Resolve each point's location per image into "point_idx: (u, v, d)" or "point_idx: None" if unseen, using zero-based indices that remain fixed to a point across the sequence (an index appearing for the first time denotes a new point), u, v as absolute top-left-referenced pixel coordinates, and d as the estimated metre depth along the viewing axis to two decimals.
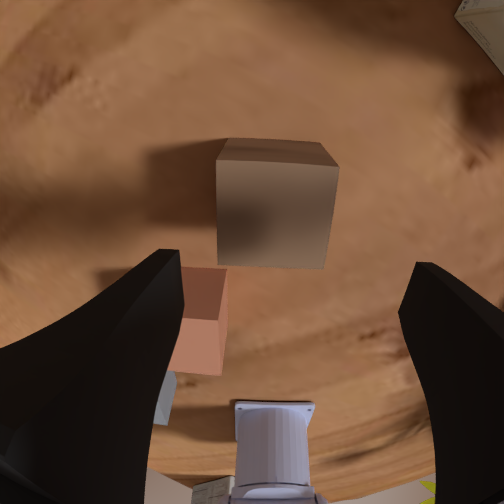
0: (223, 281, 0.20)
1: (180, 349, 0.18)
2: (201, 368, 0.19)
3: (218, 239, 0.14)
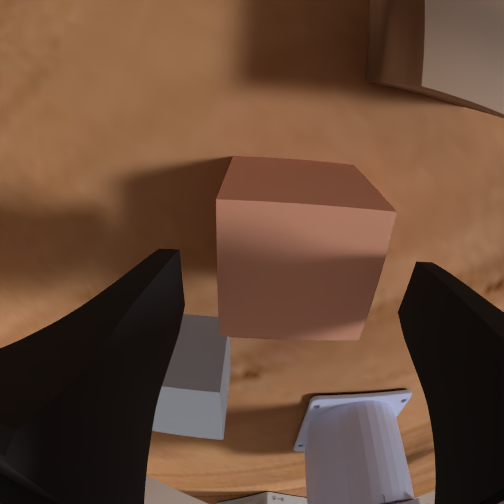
0: (360, 173, 0.11)
1: (303, 288, 0.10)
2: (329, 327, 0.10)
3: (426, 39, 0.06)
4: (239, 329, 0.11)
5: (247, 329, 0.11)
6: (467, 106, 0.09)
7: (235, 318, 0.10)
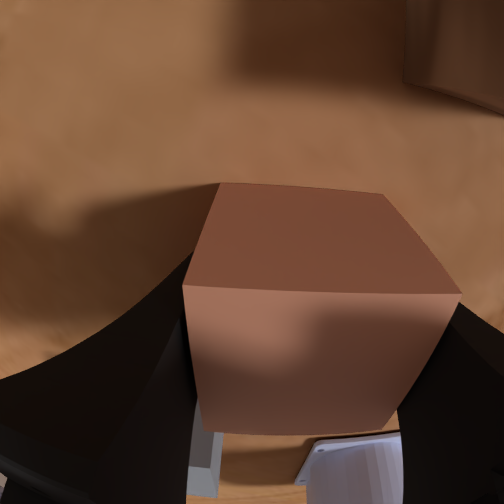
0: (396, 212, 0.08)
1: (318, 390, 0.06)
2: (347, 423, 0.07)
3: None
4: (229, 426, 0.07)
5: (240, 427, 0.07)
6: None
7: (223, 417, 0.07)
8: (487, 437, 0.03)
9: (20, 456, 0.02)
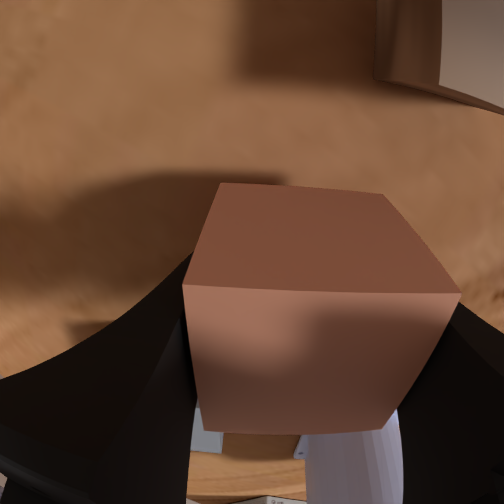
0: (396, 212, 0.08)
1: (318, 390, 0.06)
2: (347, 422, 0.07)
3: (444, 33, 0.05)
4: (229, 426, 0.07)
5: (239, 426, 0.07)
6: (480, 107, 0.08)
7: (223, 417, 0.07)
8: (486, 438, 0.03)
9: (20, 456, 0.02)
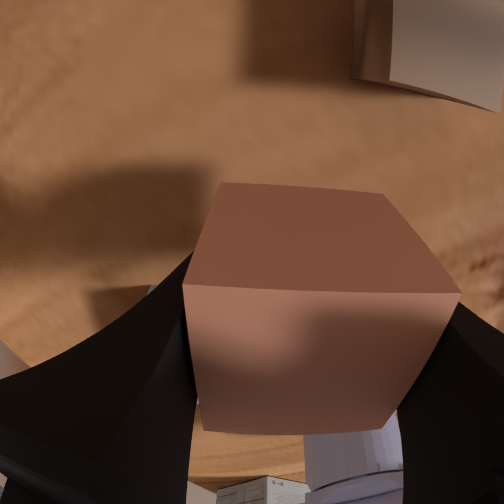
0: (396, 212, 0.08)
1: (318, 389, 0.06)
2: (347, 422, 0.07)
3: (393, 42, 0.08)
4: (229, 426, 0.07)
5: (239, 426, 0.07)
6: (440, 97, 0.11)
7: (223, 417, 0.07)
8: (487, 438, 0.03)
9: (20, 456, 0.02)
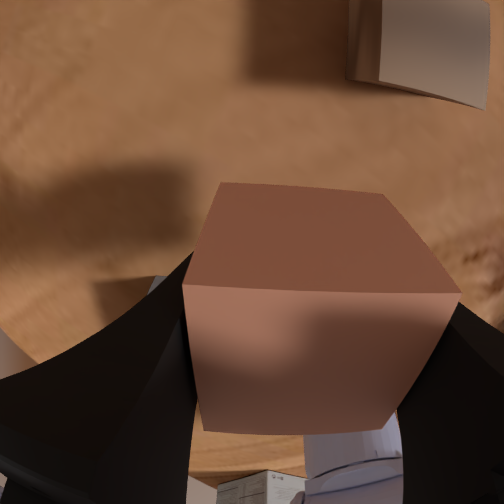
0: (395, 212, 0.08)
1: (318, 389, 0.06)
2: (347, 422, 0.07)
3: (382, 45, 0.08)
4: (228, 426, 0.07)
5: (240, 426, 0.07)
6: (430, 96, 0.12)
7: (223, 417, 0.07)
8: (486, 438, 0.03)
9: (20, 456, 0.02)
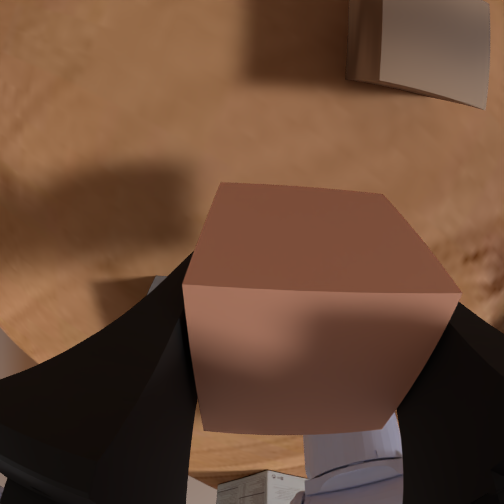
0: (395, 212, 0.08)
1: (318, 389, 0.06)
2: (347, 422, 0.07)
3: (383, 45, 0.08)
4: (228, 426, 0.07)
5: (240, 426, 0.07)
6: (430, 96, 0.12)
7: (223, 417, 0.07)
8: (486, 438, 0.03)
9: (20, 456, 0.02)
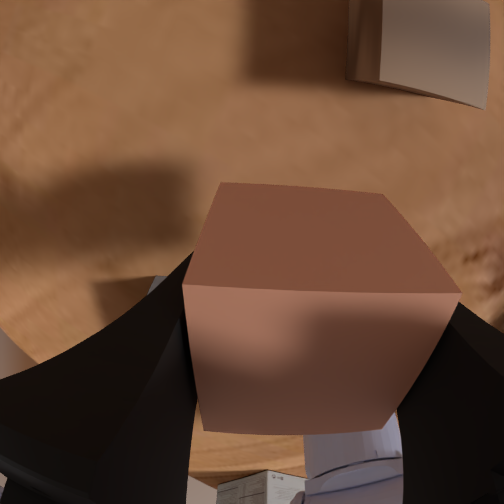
0: (395, 212, 0.08)
1: (318, 389, 0.06)
2: (347, 422, 0.07)
3: (383, 45, 0.08)
4: (228, 426, 0.07)
5: (240, 426, 0.07)
6: (430, 96, 0.12)
7: (223, 417, 0.07)
8: (486, 438, 0.03)
9: (20, 456, 0.02)
